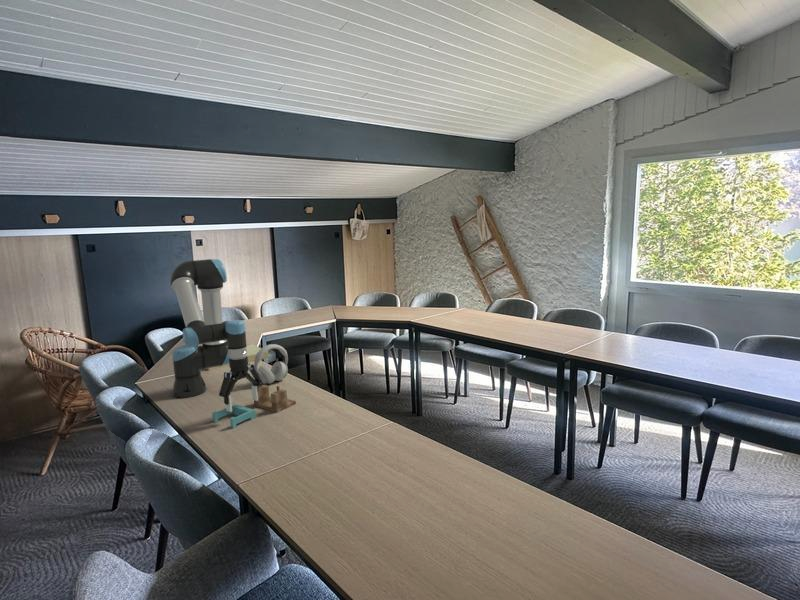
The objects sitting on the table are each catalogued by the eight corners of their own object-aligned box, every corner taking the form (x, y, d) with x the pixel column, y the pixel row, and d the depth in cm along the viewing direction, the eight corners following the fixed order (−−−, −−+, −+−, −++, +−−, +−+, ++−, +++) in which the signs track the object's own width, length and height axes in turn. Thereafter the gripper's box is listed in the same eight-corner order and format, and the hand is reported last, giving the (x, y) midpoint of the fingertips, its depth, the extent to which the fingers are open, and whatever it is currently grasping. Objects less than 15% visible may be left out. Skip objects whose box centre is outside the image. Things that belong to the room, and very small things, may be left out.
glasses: (233, 428, 187) (232, 418, 186) (213, 421, 194) (212, 412, 193) (255, 417, 196) (255, 408, 196) (235, 411, 203) (234, 403, 202)
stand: (277, 412, 201) (276, 394, 200) (254, 406, 209) (252, 389, 208) (295, 403, 210) (294, 386, 209) (272, 397, 218) (271, 381, 217)
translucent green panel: (269, 358, 284) (254, 350, 302) (268, 351, 283) (253, 343, 302) (208, 372, 262) (196, 362, 280) (207, 364, 261) (195, 355, 280)
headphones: (262, 389, 230) (259, 350, 226) (251, 384, 237) (248, 346, 233) (294, 379, 243) (291, 342, 240) (283, 375, 250) (280, 339, 247)
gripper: (218, 366, 182) (223, 417, 185) (267, 350, 203) (271, 397, 206) (206, 364, 186) (211, 414, 189) (255, 349, 207) (259, 394, 210)
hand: (242, 405), depth 198 cm, fingers open, 13 cm apart
